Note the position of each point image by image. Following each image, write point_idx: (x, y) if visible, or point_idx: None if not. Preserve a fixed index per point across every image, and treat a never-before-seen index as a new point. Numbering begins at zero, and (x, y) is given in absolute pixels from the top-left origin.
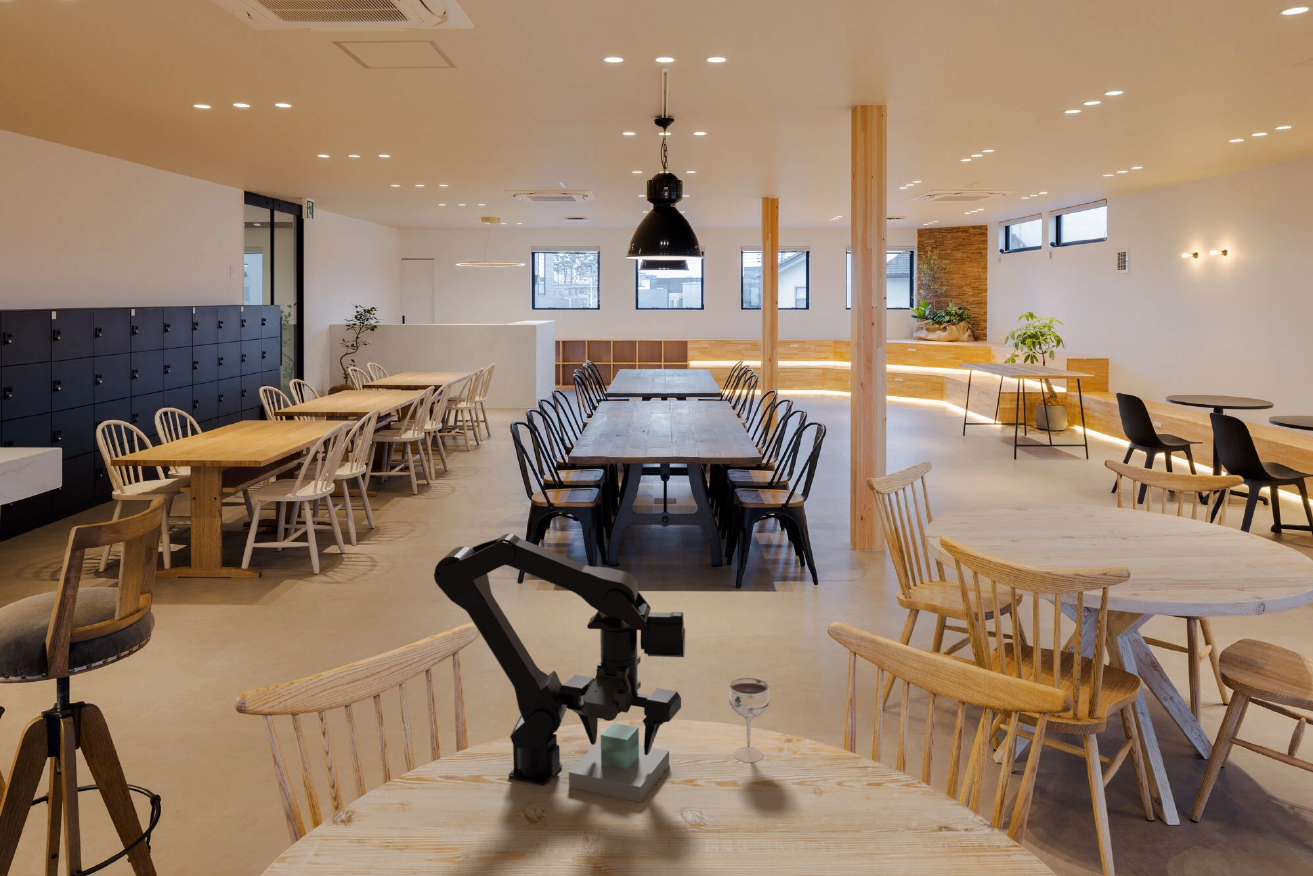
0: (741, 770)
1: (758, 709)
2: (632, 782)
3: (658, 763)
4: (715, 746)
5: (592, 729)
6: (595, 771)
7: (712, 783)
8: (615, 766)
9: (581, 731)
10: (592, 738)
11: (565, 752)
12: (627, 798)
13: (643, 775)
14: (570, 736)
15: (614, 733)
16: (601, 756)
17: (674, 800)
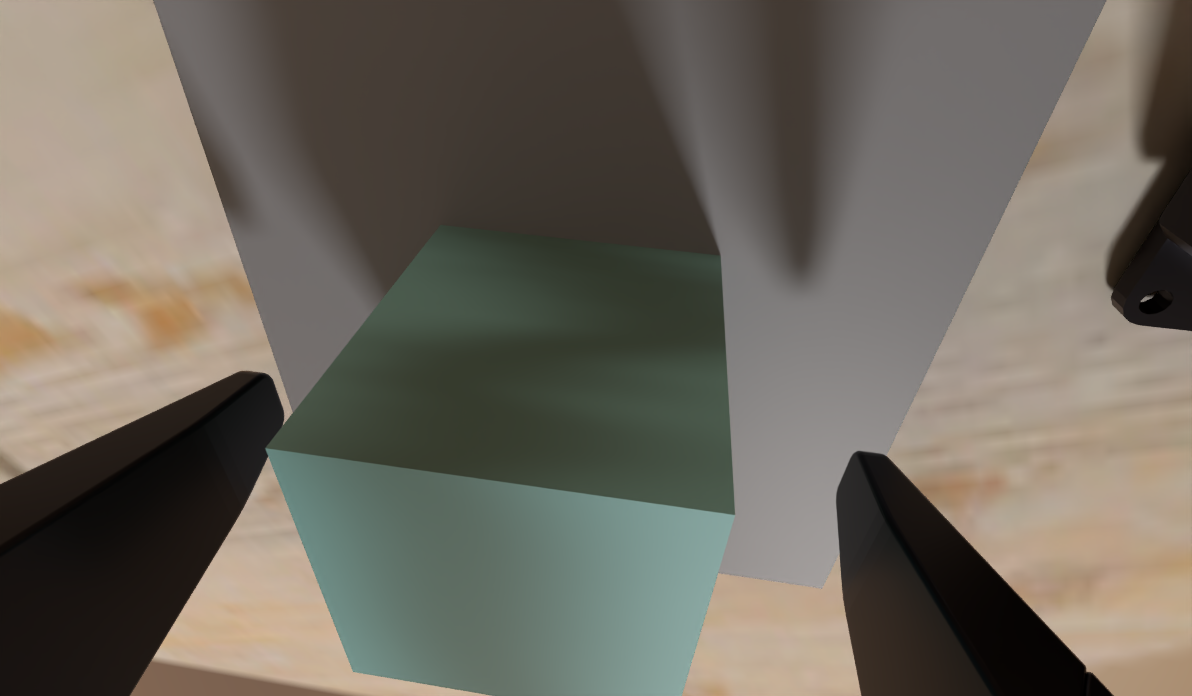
0: (46, 453)
1: None
2: (264, 4)
3: (283, 374)
4: (282, 588)
5: (914, 624)
6: (744, 114)
7: (51, 324)
8: (560, 243)
9: None
10: (882, 505)
11: (1077, 470)
12: None
13: (262, 176)
14: (1046, 607)
15: (540, 564)
16: (718, 306)
17: (62, 61)
